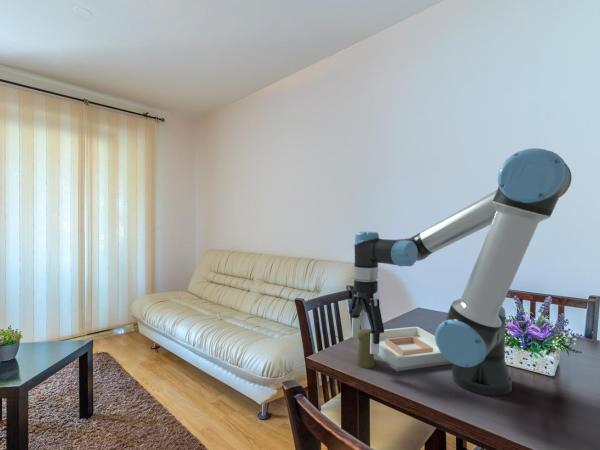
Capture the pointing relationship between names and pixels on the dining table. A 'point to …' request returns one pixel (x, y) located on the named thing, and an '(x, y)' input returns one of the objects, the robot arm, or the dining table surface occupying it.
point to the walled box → (409, 349)
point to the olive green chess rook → (364, 350)
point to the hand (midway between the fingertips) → (364, 344)
